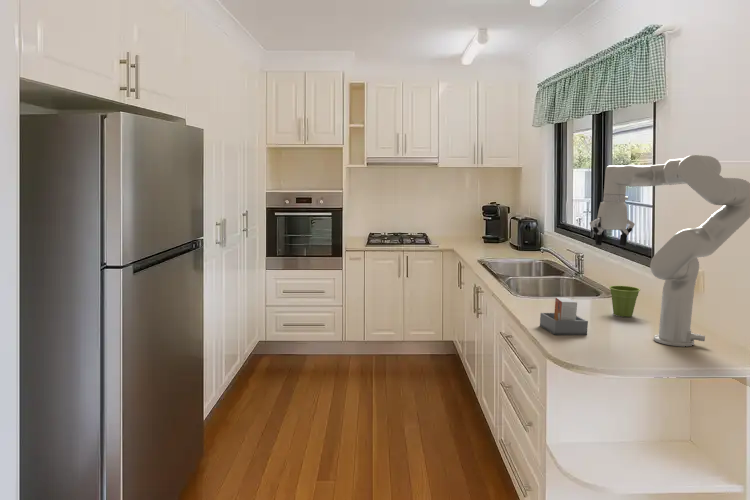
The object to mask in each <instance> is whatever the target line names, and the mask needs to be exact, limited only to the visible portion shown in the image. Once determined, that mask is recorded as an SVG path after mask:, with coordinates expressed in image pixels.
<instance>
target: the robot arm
mask: <svg viewBox="0 0 750 500" xmlns="http://www.w3.org/2000/svg"><path fill="white" fill-rule="evenodd" d="M721 171H722V165H721V163H720V161H719V160H718V159H717V158H715V157H713V156H710V155H702V154H701V155H699V154H692V155H688V156H686V157H684V158H683V157H682V158H675V159H674V158H672V159H669V160H667V161H666V162H665V163H662V164H661V163H660V164H653V165H641V164H640V165H639V164H627V165H608V166H606V168H605V171H604V173H605V174H604V185H603V187H604V188H603V200H602V202H600V204H599V208H598V213H597V218H596V219H594V220H591V221H590V222H589V225H590V228H591V230H592V232H593V233H594V234H595V236H594V237H595V238H594V239H595V240H594V242H595V245H596V246H601V245H602V243H603V242H602V241H603V235H602V233H604V231H605V230H608V231H619V232H621V234H620V235H619V236H620V237H619V245H620V246H623V247H625V246H626V245H627V243H628V235H629V234H630V233H631V232H632V231H633V229H634V227H635V225H636V223H635V222H633V221H631V220H630V219H628V207H627V203H626V201H628V200H629V196H627V195H626V191H627V187H657V186H668V185H669V186H673V185H687V186H688V187H689V188H691V189H692V190H693V191H695V192H696V194H698V195H699V196H700V197H702V198H703V199H704V200H705V201H706V202H707V203H710V204H712V205H714V206H722V207H720V208H719V209H718V210H716V211H715V212H714V213H712V214H711V215H710V216H709V218H707V220H705V221H704V222H703V223H702V224H701V225H700V226H698V227H692V228H690V227H689V228H685V229H682V230H679V231H677V233H675V234H673V236H671V238H670V239H669V240H668V241H667V242H666V243H665V244H664V245H663V246H662V247H661V248H660V249H659V250H658V251H657V252H656V253H655V254H654V255H653V257H652V258H651V261H650V264H649V267H650V270H651V271H650V272H651V273H652V275H653V276H654V277H655V278H656V279H659V280H662V281H663V280H664V284H663V286H662V295H661V304H660V306H661V307H660V313H659V314H660V316H659V329H658V334H655V335H653V339H652V340H654V342H657V343H659V344H662V345H668V346H673V347H685V346H686V347H693V346H694V345H695V341H699V342H700V341H701V342H705V341H706V340H705V339H706V335H703V334H701V333H700V334H699V333H694V332H692V328H691V327H692V326H691V325H692V315H693V305H694V295H695V288H696V287H695V286H696V281H697V278H698V274H699V270H700V261H699V259H698V258H705V257H709V256H711V255H712V254H714V253H715V252H716V251H717V250H718V249H719V248H720V247H721V246H722V245H723V244H725V243H726V242H727V241H728V239H730V238H731V236H733V234H735V233H736V232H737V231H738V230H739V229H740V228H741V227H742V226H743V225H744V224H745V223H746V222H747V221H748V220H749V219H750V182H749V181H747V180H746V179H742V178H737V177H723V176H722V175H721ZM692 345H693V346H692Z"/></svg>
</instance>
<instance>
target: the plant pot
mask: <svg viewBox="0 0 750 500" xmlns="http://www.w3.org/2000/svg"><path fill="white" fill-rule="evenodd" d="M608 288H609V289H610V296H611V302H612V303H611V305H612V312H613V315H615V316H616V315H617V316H616V317H620V316H622V317H623V318H624V317H627V318H630V317H633V315H634V311H635V306H636V302H637V298H638V296H639V292H641V289H640V288H639V287H636V286H629V285H627V286H626V285H611V286H609V287H608Z"/></svg>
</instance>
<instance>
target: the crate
mask: <svg viewBox="0 0 750 500" xmlns="http://www.w3.org/2000/svg"><path fill="white" fill-rule="evenodd" d="M588 323H589V320H587V319H585V318H583V317H581V316H579V315H577V314H576V321H556V320H554V312H540V318H539V327H541V328H542V329H544V330H546V331H547V332H549V333H550V332H551V334H552V335H553V336H588V327H589V325H588Z"/></svg>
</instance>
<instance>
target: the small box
mask: <svg viewBox="0 0 750 500" xmlns="http://www.w3.org/2000/svg"><path fill="white" fill-rule="evenodd" d="M577 308H578V302H577V301H575V300H573V298H571V297H555V302H554V312H553V313H554V320H556V321H576V315H577V312H578V309H577Z"/></svg>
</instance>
